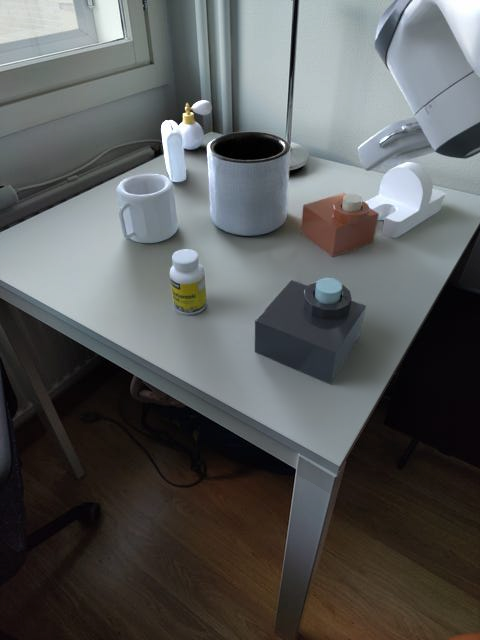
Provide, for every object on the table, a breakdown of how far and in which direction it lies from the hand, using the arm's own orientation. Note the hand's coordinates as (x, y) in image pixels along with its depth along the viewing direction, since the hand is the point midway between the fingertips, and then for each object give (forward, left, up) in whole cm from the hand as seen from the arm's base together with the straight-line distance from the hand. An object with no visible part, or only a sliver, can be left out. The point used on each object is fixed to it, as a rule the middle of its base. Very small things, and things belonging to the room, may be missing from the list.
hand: (390, 161), depth 73 cm
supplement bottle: (+7, +34, -19) cm, 39 cm away
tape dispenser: (+8, -17, -19) cm, 26 cm away
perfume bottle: (+67, 0, -19) cm, 69 cm away
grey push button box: (-11, +24, -18) cm, 32 cm away
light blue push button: (-11, +21, -11) cm, 26 cm away
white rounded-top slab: (+54, +12, -19) cm, 58 cm away
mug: (+32, +30, -19) cm, 48 cm away
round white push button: (+6, 0, -11) cm, 12 cm away
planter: (+25, +10, -19) cm, 33 cm away
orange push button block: (+9, 0, -18) cm, 21 cm away
